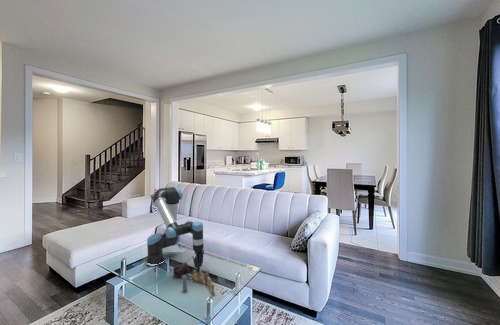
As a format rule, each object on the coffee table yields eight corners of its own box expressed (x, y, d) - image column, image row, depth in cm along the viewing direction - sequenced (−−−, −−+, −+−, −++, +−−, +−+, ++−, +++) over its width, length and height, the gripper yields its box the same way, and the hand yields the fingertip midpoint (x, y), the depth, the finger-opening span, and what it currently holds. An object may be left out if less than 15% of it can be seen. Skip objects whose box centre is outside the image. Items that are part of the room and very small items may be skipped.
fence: (207, 286, 158) (206, 276, 157) (209, 285, 158) (208, 275, 158) (212, 296, 147) (211, 285, 147) (214, 295, 148) (213, 284, 147)
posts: (182, 290, 153) (181, 275, 153) (208, 283, 161) (208, 268, 161) (182, 293, 151) (182, 277, 150) (209, 285, 158) (209, 270, 158)
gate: (206, 283, 161) (206, 274, 160) (205, 284, 160) (205, 274, 159) (193, 278, 167) (193, 269, 167) (192, 279, 166) (192, 270, 166)
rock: (173, 276, 174) (177, 281, 165) (171, 265, 173) (174, 271, 164) (188, 269, 180) (192, 274, 172) (186, 259, 179) (190, 264, 171)
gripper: (198, 239, 171) (199, 269, 173) (188, 246, 159) (189, 279, 160) (206, 240, 169) (208, 271, 170) (198, 248, 157) (199, 280, 158)
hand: (199, 274), depth 165 cm, fingers closed
